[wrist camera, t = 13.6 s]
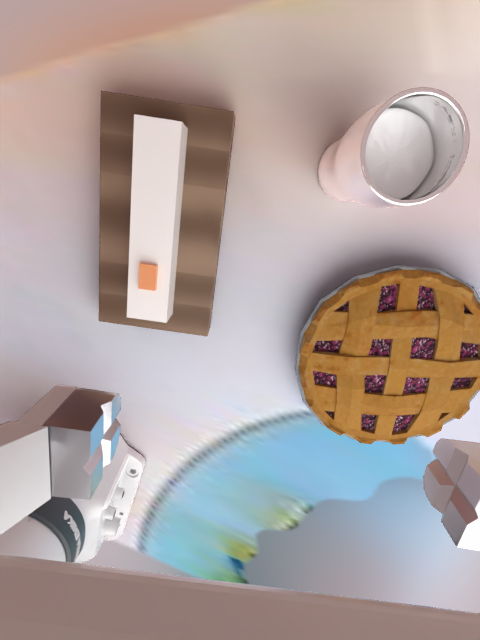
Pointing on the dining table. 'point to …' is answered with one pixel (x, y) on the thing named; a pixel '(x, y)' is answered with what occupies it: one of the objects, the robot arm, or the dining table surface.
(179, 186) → the power strip
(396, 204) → the beer glass
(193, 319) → the socket board
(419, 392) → the pie
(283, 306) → the dining table surface
